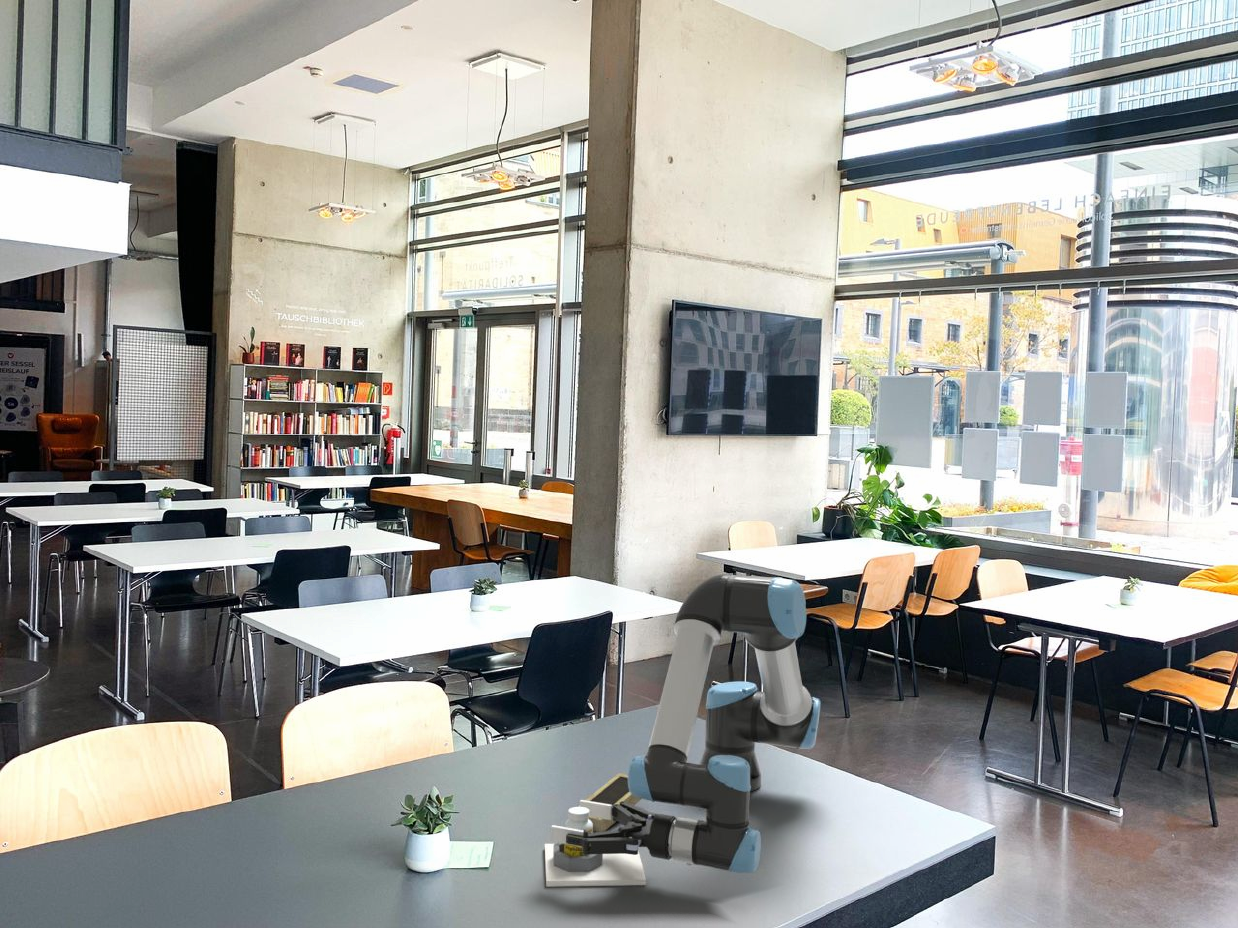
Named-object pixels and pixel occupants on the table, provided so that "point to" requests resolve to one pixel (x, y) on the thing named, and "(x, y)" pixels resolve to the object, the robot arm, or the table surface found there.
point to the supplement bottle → (580, 822)
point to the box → (611, 799)
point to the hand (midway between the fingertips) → (566, 819)
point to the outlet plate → (600, 875)
